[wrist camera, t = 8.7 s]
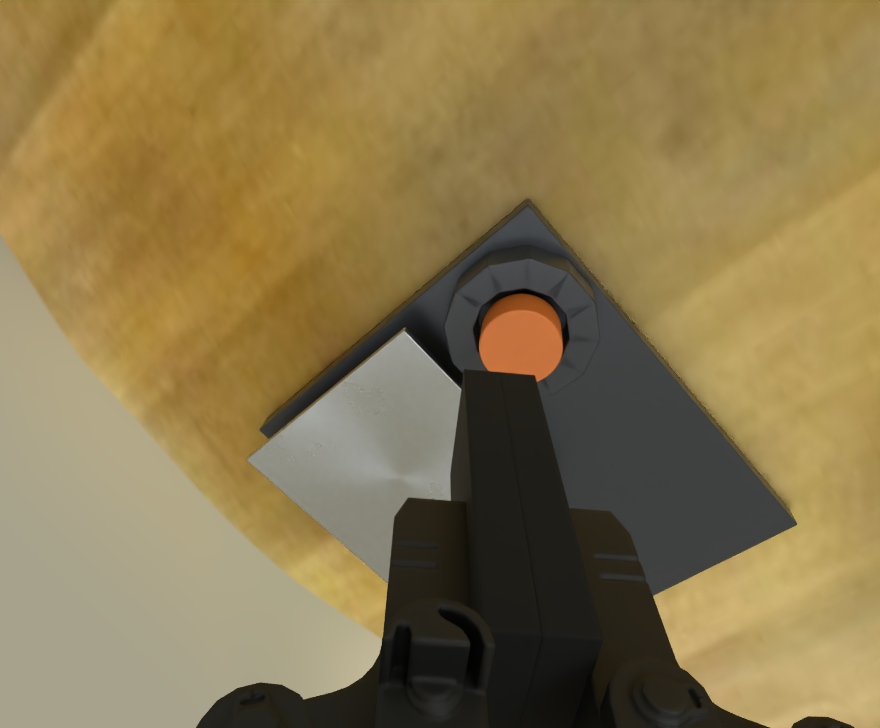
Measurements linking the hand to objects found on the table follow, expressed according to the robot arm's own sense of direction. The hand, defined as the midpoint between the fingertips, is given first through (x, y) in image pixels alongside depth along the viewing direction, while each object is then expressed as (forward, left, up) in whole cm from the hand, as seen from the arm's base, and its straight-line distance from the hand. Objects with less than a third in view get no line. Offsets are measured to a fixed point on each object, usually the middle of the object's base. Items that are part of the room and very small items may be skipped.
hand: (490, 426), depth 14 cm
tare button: (+1, -3, -12) cm, 13 cm away
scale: (+4, -11, -15) cm, 19 cm away
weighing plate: (-2, -11, -12) cm, 17 cm away
